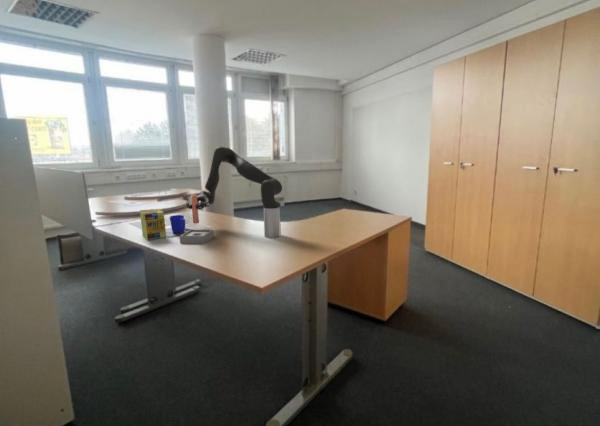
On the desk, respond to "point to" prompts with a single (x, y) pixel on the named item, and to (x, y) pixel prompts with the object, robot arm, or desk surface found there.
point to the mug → (177, 223)
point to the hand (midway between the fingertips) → (193, 207)
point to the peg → (194, 209)
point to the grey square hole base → (196, 236)
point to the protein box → (153, 224)
